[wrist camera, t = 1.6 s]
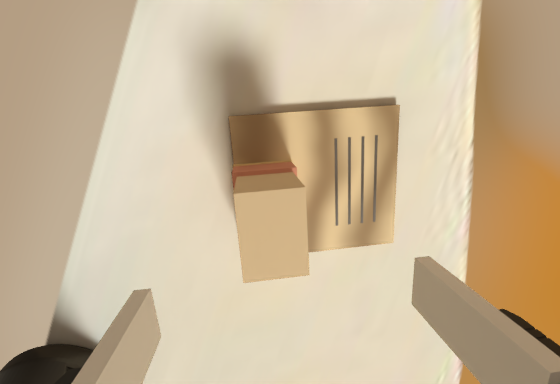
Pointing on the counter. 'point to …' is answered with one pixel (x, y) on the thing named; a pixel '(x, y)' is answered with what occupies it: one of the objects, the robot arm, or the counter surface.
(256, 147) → the board
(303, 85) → the counter surface
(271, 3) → the counter surface
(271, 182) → the block
